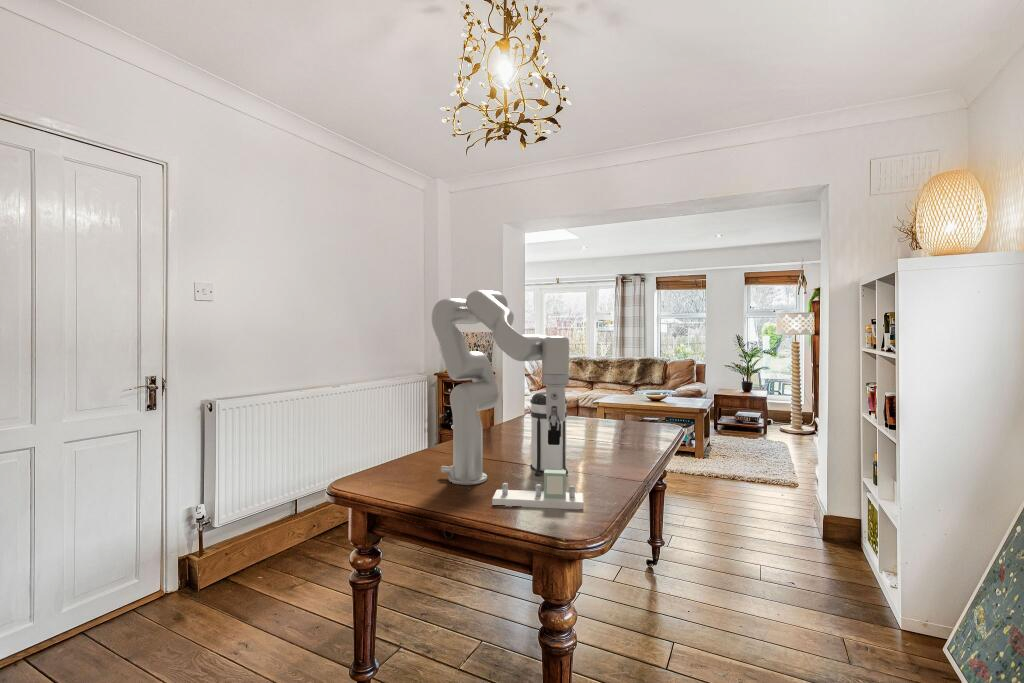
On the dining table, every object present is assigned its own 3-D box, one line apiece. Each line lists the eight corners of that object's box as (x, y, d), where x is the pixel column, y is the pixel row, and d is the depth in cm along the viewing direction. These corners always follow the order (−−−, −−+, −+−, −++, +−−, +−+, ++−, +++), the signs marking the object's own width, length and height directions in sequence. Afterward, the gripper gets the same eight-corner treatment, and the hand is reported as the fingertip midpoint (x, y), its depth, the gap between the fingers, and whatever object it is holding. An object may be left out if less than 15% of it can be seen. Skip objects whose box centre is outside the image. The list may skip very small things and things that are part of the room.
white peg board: (492, 505, 139) (492, 487, 139) (496, 496, 147) (496, 479, 147) (583, 509, 136) (583, 491, 136) (582, 499, 144) (582, 482, 144)
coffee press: (580, 470, 174) (580, 384, 174) (552, 480, 162) (553, 388, 162) (541, 461, 186) (541, 381, 185) (513, 470, 174) (513, 384, 173)
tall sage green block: (543, 498, 139) (544, 473, 139) (544, 493, 143) (544, 469, 143) (565, 498, 139) (565, 473, 138) (565, 494, 142) (565, 470, 142)
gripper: (568, 383, 131) (567, 448, 131) (569, 377, 148) (568, 434, 149) (539, 383, 132) (538, 447, 132) (543, 376, 149) (543, 433, 150)
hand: (554, 440), depth 141 cm, fingers open, 9 cm apart
